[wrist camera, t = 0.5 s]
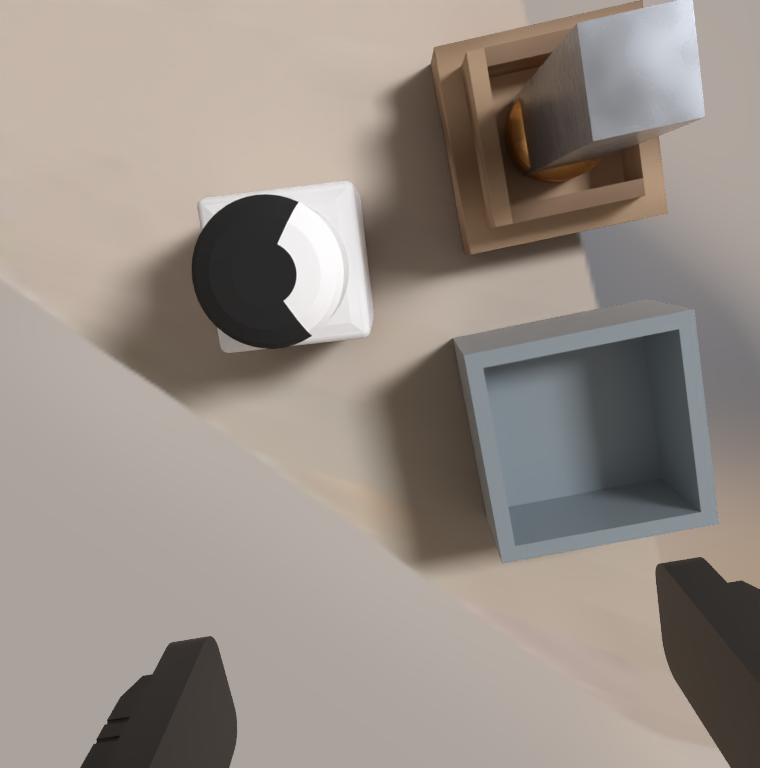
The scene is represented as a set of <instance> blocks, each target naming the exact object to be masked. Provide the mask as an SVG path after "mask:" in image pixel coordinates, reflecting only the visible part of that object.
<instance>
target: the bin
mask: <svg viewBox="0 0 760 768" xmlns="http://www.w3.org/2000/svg"><path fill="white" fill-rule="evenodd" d="M453 341H454V347H455V352H456V357H457V363H458V368H459V373H460V379H461V384H462V389H463V395H464V400H465V405H466V411H467V416H468V421H469V427H470V432H471V438H472V443H473V448H474V454H475V459H476V464H477V470H478V475H479V480H480V486H481V491H482V496H483V502H484V507H485V512H486V517H487V520H488V523H489V526H490V529H491V532H492V535H493V538H494V541H495V543H496V546H497V549H498V552H499V555H500V558H501V561H502V563H506V562H512V561H517V560H523V559H528V558H534V557H539V556H545V555H550V554H556V553H561V552H567V551H572V550H578V549H583V548H589V547H594V546H600V545H605V544H611V543H616V542H622V541H627V540H633V539H638V538H644V537H649V536H655V535H660V534H665V533H671V532H677V531H682V530H687V529H693V528H698V527H704V526H710V525H715V524H719V521H718V512H717V503H716V494H715V486H714V478H713V468H712V460H711V451H710V442H709V434H708V425H707V417H706V407H705V399H704V390H703V382H702V373H701V364H700V355H699V347H698V338H697V329H696V321H695V312H694V309H691V308H687V307H682V306H677V305H673V304H668V303H663V302H659V301H654V300H649V299H646V300H640V301H635V302H630V303H626V304H620V305H616V306H611V307H605V308H600V309H595V310H591V311H586V312H581V313H576V314H571V315H566V316H561V317H556V318H551V319H546V320H541V321H536V322H531V323H526V324H521V325H516V326H511V327H507V328H502V329H497V330H492V331H487V332H482V333H477V334H472V335H467V336H462V337H457V338H453Z"/></svg>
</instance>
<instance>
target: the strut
mask: <svg viewBox="0 0 760 768" xmlns="http://www.w3.org/2000/svg"><path fill="white" fill-rule="evenodd" d="M511 104H512V107H511V109H510V111H509V114H508V116H507V120H506V124H505V134H504V136H505V144H506V149H507V152H508V154H509V156H510V158H511V160H512V162H513V163H514V165H515V166H516V167H517V168H518V169H519V170H520V171H521V172H522V174H523V177H526V176H528V177H529V178H532V179H534V180H536V181H540V182H546V183H556V182H562V181H565V180H569V179H571V178H574V177H577V176H579V175H582V174H584V173H586V172H587V171H589V170H591V169H592V168H593V167H594V166H596V165H597V164H598V163H599V162H600V161H601V160H602V159H603V158H606V157H608V156H610V155H613V154H615V153H618V152H620V151H623V150H625V149H628V148H630V147H633V146H635V145H637V144H640V143H642V142H645V141H647V140H650V139H652V138H655V137H657V136H660V135H662V134H664V133H667V132H669V131H672V130H674V129H677V128H679V127H682V126H684V125H687V124H689V123H691V122H694V121H696V120H699V119H701V118H704V117H705V112H704V102H703V93H702V83H701V75H700V64H699V55H698V45H697V36H696V27H695V17H694V8H693V0H676V1H672V2H668V3H663V4H659V5H654V6H650V7H646V8H641V9H637V10H632V11H628V12H623V13H619V14H615V15H610V16H606V17H601V18H597V19H593V20H588V21H584V22H580V23H577V24H576V25H575V26H574V27H573V28H572V30H571V31H570V32H569V33H568V34H567V36H566V37H565V38H564V39H563V40H562V42H561V43H560V44H559V45H558V46H557V48H556V49H555V50H554V51H553V52H552V54H551V55H550V56H549V57H548V58H547V60H546V61H545V62H544V63H543V64H542V66H541V67H540V68H539V69H538V70H537V72H536V73H535V74H534V75H533V76H532V78H531V79H530V80H529V81H528V82H527V84H526V85H525V86H524V87H523V88H522V90H521V91H520V92H519V93H518V94H517V96H516V97H515V98H514V99H513V100H512V102H511Z"/></svg>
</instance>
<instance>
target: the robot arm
mask: <svg viewBox="0 0 760 768" xmlns="http://www.w3.org/2000/svg"><path fill="white" fill-rule="evenodd" d="M656 585H657V594H658V604H659V613H660V622H661V632H662V641H663V647H664V651H665V655H666V659H667V662H668V665H669V668H670V670H671V672H672V675H673V677H674V679H675V680H676V682H677V684H678V685H679V687H680V688H681V690H682V692H683V693H684V695H685V696H686V698H687V699H688V701H689V703H690V704H691V706H692V707H693V709H694V710H695V712H696V714H697V715H698V717H699V718H700V720H701V721H702V723H703V725H704V726H705V728H706V729H707V731H708V732H709V734H710V736H711V737H712V739H713V740H714V742H715V743H716V745H717V747H718V748H719V750H720V751H721V753H722V754H723V756H724V758H725V759H726V761H727V762H728V764H729V765H730V767H731V768H760V589H758V588H756V587H754V586H752V585H750V584H748V583H745V582H743V581H736V582H730V583H727V582H726V581H725V580H724V579H723V578H722V577H721V576H720V575H719V574H718V573H717V572H716V571H715V569H714V568H712V566H711V565H710V564H709V563H708V562H707V561H706V560H704V558H701V557H698V558H692V559H687V560H680V561H674V562H668V563H661V564H658V565H657V567H656ZM107 721H108V723H107V725H104V727H103V729H102V730H101V732H100V734H99V736H98V738H97V743H96V744H94V745H93V746H92V748H91V750H90V752H89V753H88V755H87V757H86V759H85V760H84V762H83V764H82V766H81V767H80V768H229V766H230V763H231V759H232V756H233V753H234V749H235V745H236V738H237V719H236V712H235V707H234V703H233V699H232V696H231V692H230V689H229V685H228V681H227V677H226V674H225V670H224V666H223V663H222V659H221V655H220V652H219V648H218V645H217V643H216V641H215V639H214V638H213V637H211V636H209V637H203V638H196V639H190V640H184V641H178V642H172V643H170V644H169V645H168V646H167V648H166V650H165V652H164V654H163V656H162V657H161V659H160V661H159V663H158V665H157V667H156V669H155V671H154V673H153V674H152V675H146V676H142V677H141V678H140V679H139V680H138V681H137V682H136V683H135V684H134V685H133V686H132V687H131V688H130V689H129V690H128V691H126V692H125V693H124V694H123V695H122V696H121V697H120V699H119V701H118V702H117V704H116V706H115V708H114V710H113V711H112V713H111V715H110V716H109V718H108V720H107Z"/></svg>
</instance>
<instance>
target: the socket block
mask: <svg viewBox="0 0 760 768" xmlns="http://www.w3.org/2000/svg"><path fill="white" fill-rule="evenodd" d="M641 8H643V1H642V0H640V1H635V2H631V3H627V4H623V5H618V6H613V7H609V8H605V9H600V10H596V11H592V12H587V13H583V14H578V15H574V16H569V17H565V18H561V19H556V20H552V21H548V22H543V23H539V24H534V25H530V26H526V27H521V28H517V29H512V30H508V31H504V32H499V33H495V34H491V35H486V36H482V37H477V38H473V39H469V40H464V41H460V42H455V43H451V44H447V45H442V46H438V47H434V51H433V55H432V60H431V68H432V73H433V79H434V85H435V90H436V96H437V101H438V107H439V112H440V118H441V124H442V129H443V135H444V140H445V146H446V151H447V157H448V163H449V168H450V174H451V179H452V185H453V191H454V196H455V202H456V207H457V213H458V218H459V224H460V230H461V235H462V241H463V246H464V252H465V254H470V255H471V254H476V253H481V252H486V251H491V250H495V249H500V248H505V247H510V246H514V245H519V244H524V243H529V242H534V241H538V240H543V239H548V238H553V237H557V236H562V235H567V234H572V233H577V232H581V231H586V230H591V229H595V228H600V227H605V226H610V225H615V224H619V223H624V222H629V221H634V220H639V219H643V218H648V217H653V216H658V215H663V214H667V213H668V210H667V202H666V193H665V185H664V176H663V168H662V159H661V152H660V143H659V136H657V137H655V138H652V139H650V140H647V141H645V142H642V143H640V144H637V145H635V146H633V147H630V148H628V149H625V150H623V151H620V152H618V153H615V154H613V155H610V156H608V157H606V158H603V159H602V160H601V161H600V162H599V163H598V164H597V165H596V166H594V167H593V168H592V169H591V170H589V171H587V172H586V173H584V174H582V175H579V176H577V177H574V178H571V179H569V180H565V181H562V182H556V183H546V182H540V181H536V180H534V179H532V178H529V177H528V176H526V177H523V174H522V172H521V171H520V170H519V169H518V168H517V167H516V166H515V165H514V163H513V162H512V160H511V158H510V156H509V154H508V152H507V149H506V144H505V136H504V134H505V124H506V120H507V116H508V114H509V111H510V109H511V107H512V104H511V102H512V100H513V99H514V98H515V97H516V96H517V94H518V93H519V92H520V91H521V90H522V88H523V87H524V86H525V85H526V84H527V82H528V81H529V80H530V79H531V78H532V76H533V75H534V74H535V73H536V72H537V70H538V69H539V68H540V67H541V66H542V64H543V63H544V62H545V61H546V60H547V58H548V57H549V56H550V55H551V54H552V52H553V51H554V50H555V49H556V48H557V46H558V45H559V44H560V43H561V42H562V40H563V39H564V38H565V37H566V36H567V34H568V33H569V32H570V31H571V30H572V28H573V27H574V26H575V25H576V24H577V23H580V22H584V21H588V20H593V19H597V18H601V17H606V16H610V15H615V14H619V13H623V12H628V11H632V10H637V9H641Z"/></svg>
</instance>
